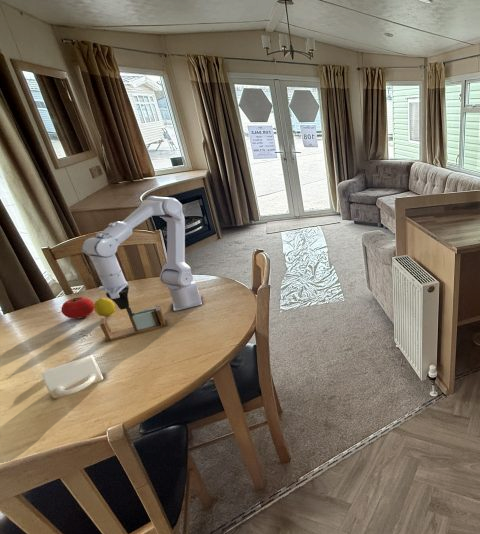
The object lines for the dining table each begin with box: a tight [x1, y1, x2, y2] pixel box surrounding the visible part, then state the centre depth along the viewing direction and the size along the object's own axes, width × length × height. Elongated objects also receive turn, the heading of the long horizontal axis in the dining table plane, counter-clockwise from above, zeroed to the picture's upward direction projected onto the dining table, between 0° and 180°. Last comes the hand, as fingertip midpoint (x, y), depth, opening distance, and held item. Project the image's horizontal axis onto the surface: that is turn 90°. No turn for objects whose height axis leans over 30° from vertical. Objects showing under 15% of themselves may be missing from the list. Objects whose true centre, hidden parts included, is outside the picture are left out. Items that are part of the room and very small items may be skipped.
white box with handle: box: [41, 354, 104, 399], centre depth 94 cm, size 12×10×8 cm
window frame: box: [99, 305, 166, 342], centre depth 121 cm, size 16×4×7 cm, turn 128°
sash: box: [125, 306, 159, 331], centre depth 121 cm, size 7×1×9 cm, turn 128°
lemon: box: [94, 297, 116, 318], centre depth 128 cm, size 6×6×8 cm
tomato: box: [60, 296, 95, 319], centre depth 128 cm, size 9×9×8 cm
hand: (125, 308), depth 117 cm, fingers closed
